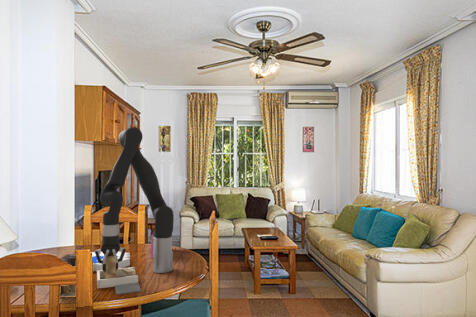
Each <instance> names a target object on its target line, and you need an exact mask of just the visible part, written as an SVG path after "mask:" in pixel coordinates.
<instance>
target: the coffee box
mask: <svg viewBox="0 0 476 317" xmlns="http://www.w3.org/2000/svg"><path fill="white" fill-rule="evenodd" d="M75 254H76V253H73V254H71V253H70V254H65V255H63V257H60V259H61V260H63V261H65V262H67V263H68V264H70V265H72V266H76V256H75ZM60 296H75V285H68V286H61V293H60V292H59V297H60Z"/></svg>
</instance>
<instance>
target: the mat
mask: <svg viewBox="0 0 476 317" xmlns="http://www.w3.org/2000/svg"><path fill="white" fill-rule="evenodd" d="M114 290H115V294H116V295H122V294H124V295H125V294H131V293H139V292H142V289H141V287H140V284H139V282H138V283H131V284H123V285H115V286H114Z"/></svg>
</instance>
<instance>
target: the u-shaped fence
mask: <svg viewBox="0 0 476 317" xmlns="http://www.w3.org/2000/svg"><path fill="white" fill-rule="evenodd" d="M129 267H130V266H129ZM123 268H124V267H123ZM123 268H118V270H117V271H116V278H109V279H105V272H104V271H103V270H99V271H96V285H97V286H96V287H97V289H104V288H106V289H107V288H113V287H114V288H115V285H123V284H131V283H138V284H139V275H138V274H137V275H136V274H135V276H126V277H124V275H123V274H122V269H123ZM130 268H132V269H133V270H135V268H136V267H135V266H131V267H130Z"/></svg>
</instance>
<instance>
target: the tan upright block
mask: <svg viewBox="0 0 476 317" xmlns="http://www.w3.org/2000/svg"><path fill="white" fill-rule="evenodd" d="M109 278H117V277H116V256H108V257H106V272H105V278H104V279H109Z"/></svg>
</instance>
